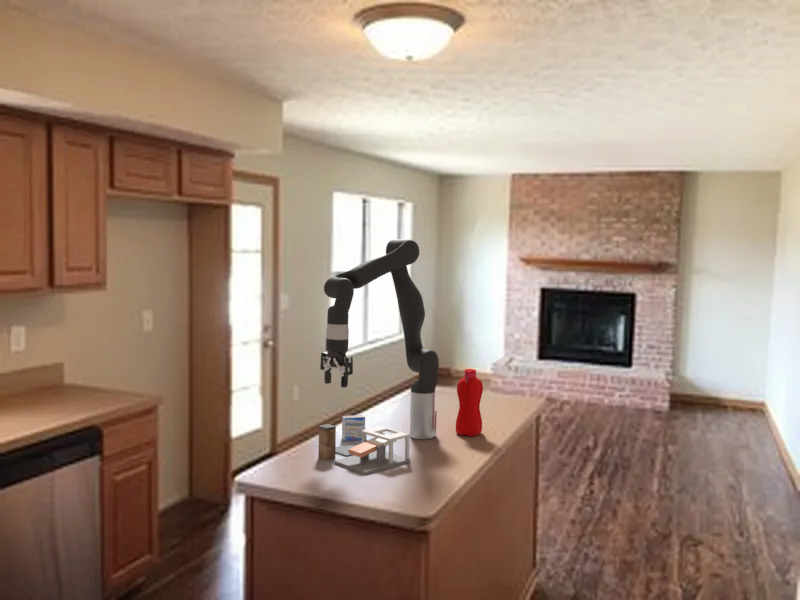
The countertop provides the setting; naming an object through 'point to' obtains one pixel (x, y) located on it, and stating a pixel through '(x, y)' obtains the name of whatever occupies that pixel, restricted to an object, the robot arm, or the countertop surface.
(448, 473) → the countertop surface
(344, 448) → the mat
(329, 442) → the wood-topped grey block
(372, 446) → the rocker
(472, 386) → the water bottle
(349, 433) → the medicine box
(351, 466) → the white square frame
